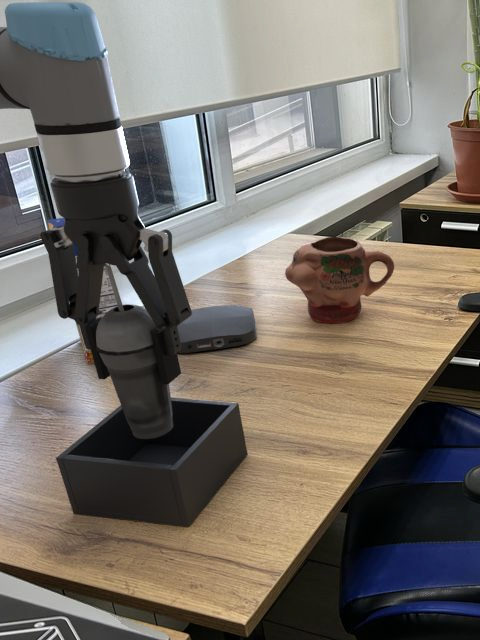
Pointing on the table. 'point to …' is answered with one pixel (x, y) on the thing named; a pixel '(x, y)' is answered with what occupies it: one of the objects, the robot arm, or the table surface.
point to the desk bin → (155, 464)
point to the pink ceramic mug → (335, 277)
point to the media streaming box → (217, 328)
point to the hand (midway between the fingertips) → (140, 375)
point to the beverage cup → (134, 367)
